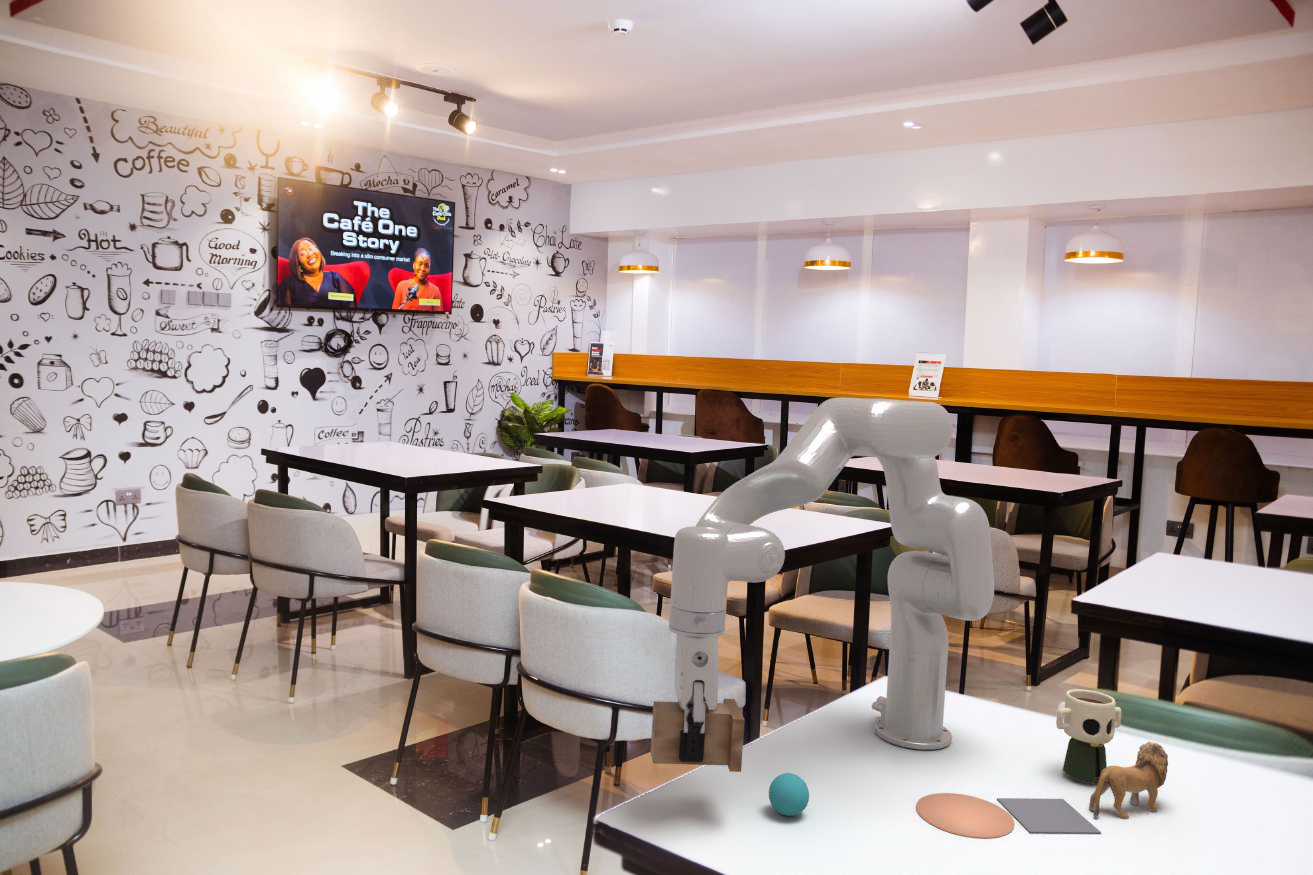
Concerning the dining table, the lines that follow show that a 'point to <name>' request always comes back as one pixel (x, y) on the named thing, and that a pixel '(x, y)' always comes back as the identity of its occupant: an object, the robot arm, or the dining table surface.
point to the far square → (1048, 816)
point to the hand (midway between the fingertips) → (688, 752)
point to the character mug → (1087, 731)
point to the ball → (788, 794)
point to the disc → (965, 815)
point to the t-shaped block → (719, 734)
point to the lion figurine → (1133, 779)
